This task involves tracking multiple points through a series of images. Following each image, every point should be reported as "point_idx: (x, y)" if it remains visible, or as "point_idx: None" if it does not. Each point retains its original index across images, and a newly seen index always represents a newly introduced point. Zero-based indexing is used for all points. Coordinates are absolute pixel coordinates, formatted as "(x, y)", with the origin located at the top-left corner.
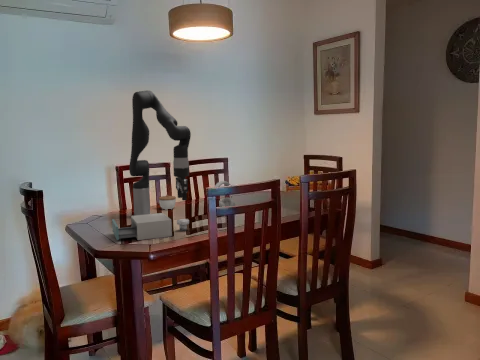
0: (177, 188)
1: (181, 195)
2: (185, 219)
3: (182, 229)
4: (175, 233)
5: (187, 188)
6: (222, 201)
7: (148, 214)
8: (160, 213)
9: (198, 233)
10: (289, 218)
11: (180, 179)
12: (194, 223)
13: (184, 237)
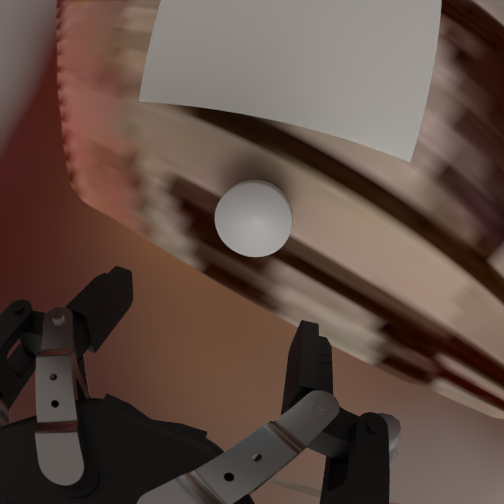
0: (298, 414)
1: (289, 363)
2: (266, 247)
3: None
4: (226, 139)
5: (12, 357)
6: (391, 458)
7: (427, 54)
8: (406, 137)
9: (166, 227)
10: None
11: (27, 484)
12: (348, 312)
13: (137, 145)
